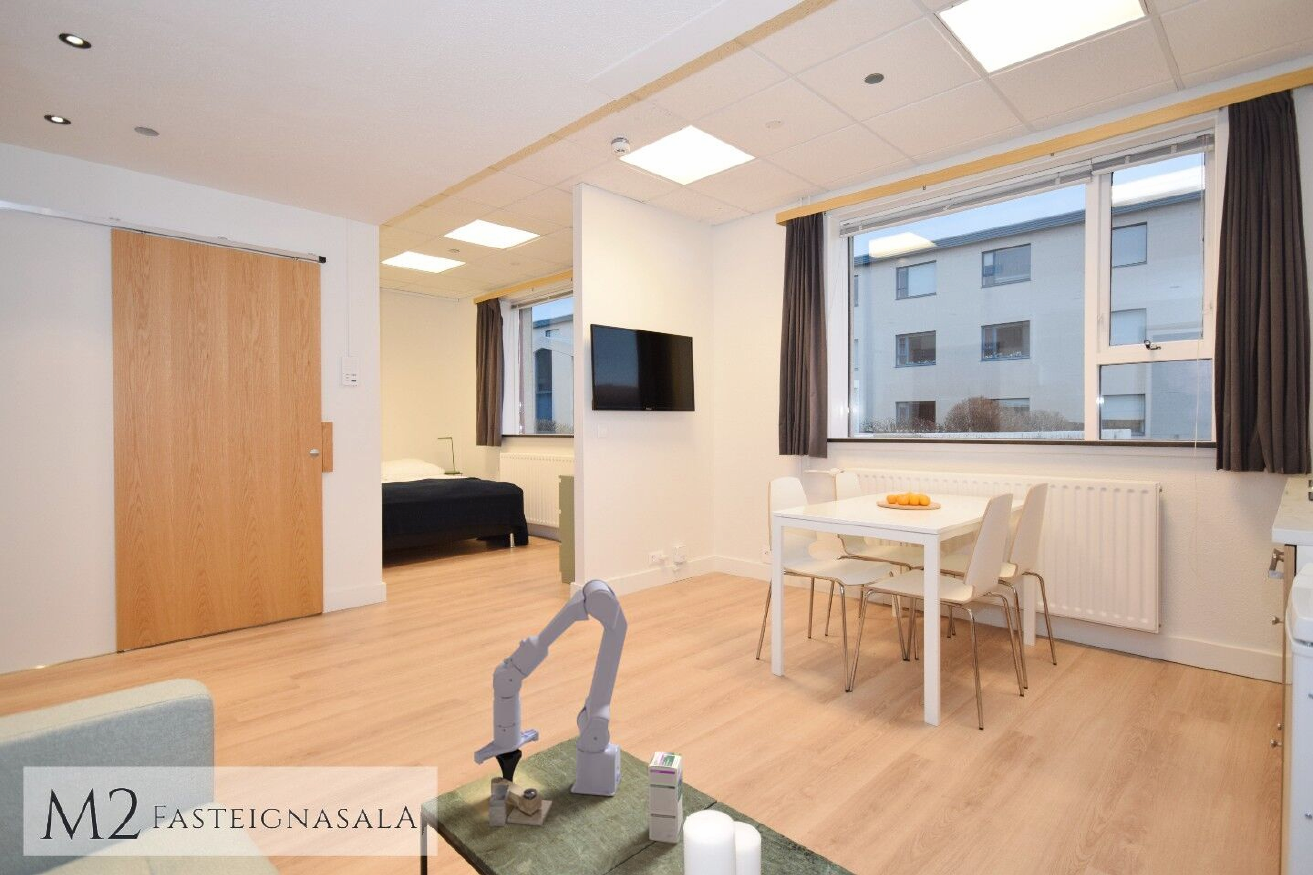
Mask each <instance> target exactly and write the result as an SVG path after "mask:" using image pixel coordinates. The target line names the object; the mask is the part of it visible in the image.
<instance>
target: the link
mask: <svg viewBox="0 0 1313 875" xmlns="http://www.w3.org/2000/svg"><path fill="white" fill-rule="evenodd" d="M494 785H509V793H508V796H507V800H506V803H509V804H511V805H513V806H514V807H515V806H517V807H519V809H520V810H522V811H524V812H526V813H528V814H530V815H531V814H532V813H533V812H535V811H536V810H538V809H539V808H541V807H542V800H543V796H542V794H541V793H539V792H537V795H536V796H534V798H532V799H531V800H529V799H527V797H525V796H524V791H525V790H527V789H528V788H525V787H523V786H521V785H518V783H514V781H513V782H511V781H508V780H506V779H504V778H503V776H495V777H492V778H491V780H490V793H491V794H492V791H493V788H494Z"/></svg>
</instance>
